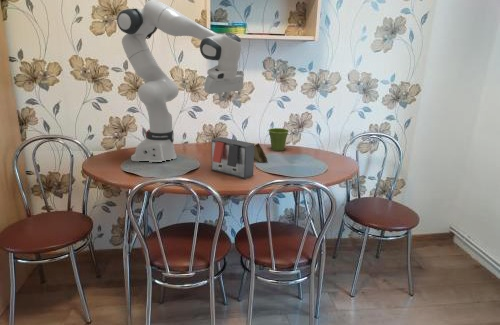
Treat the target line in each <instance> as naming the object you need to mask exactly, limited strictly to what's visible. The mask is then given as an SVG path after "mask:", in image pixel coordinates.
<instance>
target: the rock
mask: <svg viewBox="0 0 500 325" xmlns="http://www.w3.org/2000/svg"><path fill="white" fill-rule="evenodd" d="M254 161H256V162H258V161H259V162H258V163H261V162H268V163H269V161H268V157H267V156H266V153H265V151H264V150H263V148H262V146H261V145H260V142H258V143H256V144H254Z"/></svg>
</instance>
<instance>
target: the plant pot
mask: <svg viewBox="0 0 500 325" xmlns="http://www.w3.org/2000/svg"><path fill="white" fill-rule="evenodd" d="M267 132H269V139H270V147H271V149H272V151H276V152H278V151H281V152H282V151H284V150H285V146H286V140H287V137H288V133H289V132H290V130H289V129H287V128H281V127H274V128H269V129H268V130H267Z"/></svg>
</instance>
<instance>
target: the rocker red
mask: <svg viewBox="0 0 500 325" xmlns="http://www.w3.org/2000/svg"><path fill="white" fill-rule="evenodd" d="M223 148H224V143H221V142H216V143H215V149H214V155H213V162H218V163H221V160H222V154H223Z"/></svg>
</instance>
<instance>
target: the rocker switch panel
mask: <svg viewBox="0 0 500 325" xmlns="http://www.w3.org/2000/svg"><path fill="white" fill-rule="evenodd" d="M216 142H221V143H224V148H223V154H222V160H221V163H218V162H213V155H214V149H215V143H216ZM229 145H234V146H239V147H238V155H237V163H236V167H232V166H228V165H227V162H228V153H229ZM254 146H255V143H253V142H249V141H248V142H247V141H243V140H238V139H233V138H227V137H223V136H218V137H215V138H212V139H211V172H215V173H219V174H223V175H227V176H230V177H234V178H238V179H240V180H241V179H242V180H247V179H250V178H252V177H254V166H255V165H254V164H255V159H254Z"/></svg>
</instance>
